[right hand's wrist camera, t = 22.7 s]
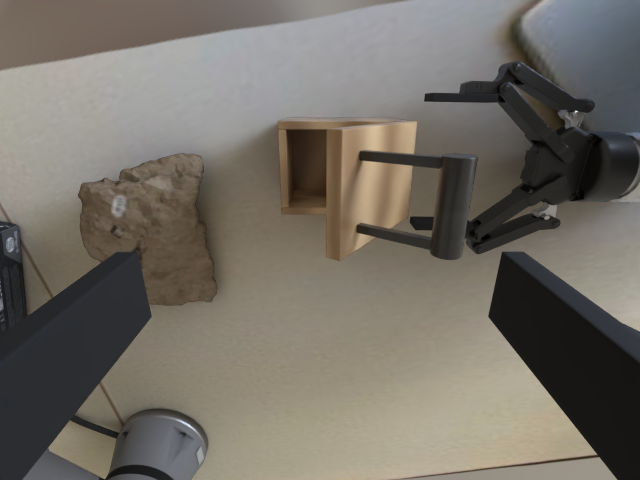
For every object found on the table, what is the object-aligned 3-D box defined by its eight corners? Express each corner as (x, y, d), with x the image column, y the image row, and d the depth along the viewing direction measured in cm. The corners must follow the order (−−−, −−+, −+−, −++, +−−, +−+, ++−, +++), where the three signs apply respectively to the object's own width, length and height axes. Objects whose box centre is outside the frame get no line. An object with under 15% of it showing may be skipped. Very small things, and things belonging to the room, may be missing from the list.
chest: (288, 194, 45) (281, 214, 37) (286, 117, 42) (277, 121, 33) (385, 193, 45) (400, 214, 37) (391, 117, 41) (409, 120, 33)
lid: (325, 257, 26) (445, 292, 21) (326, 128, 23) (469, 135, 18) (396, 215, 36) (490, 232, 31) (404, 121, 33) (511, 123, 28)
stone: (68, 149, 40) (45, 166, 35) (203, 146, 43) (199, 162, 38) (116, 291, 50) (103, 320, 45) (220, 280, 54) (219, 306, 49)
